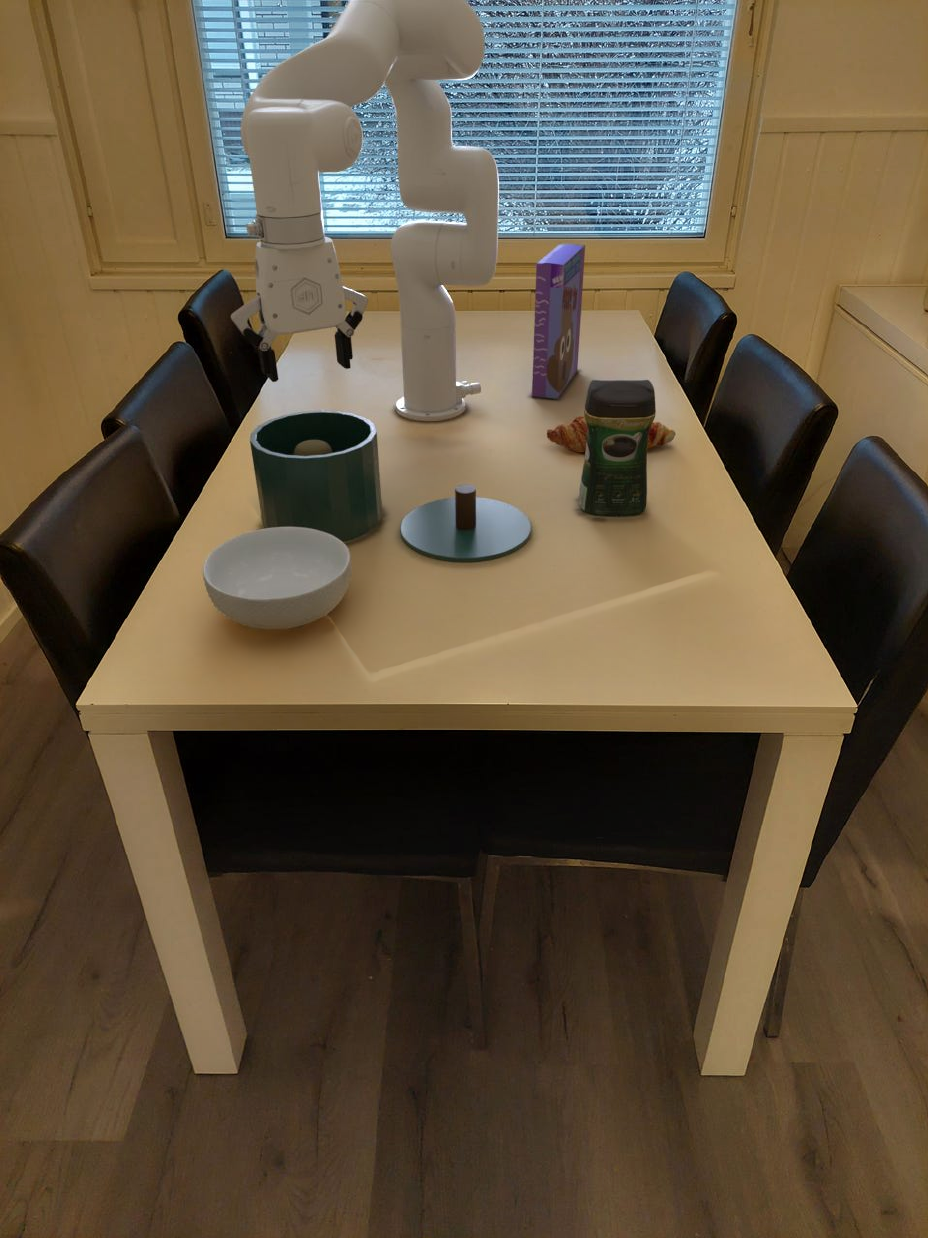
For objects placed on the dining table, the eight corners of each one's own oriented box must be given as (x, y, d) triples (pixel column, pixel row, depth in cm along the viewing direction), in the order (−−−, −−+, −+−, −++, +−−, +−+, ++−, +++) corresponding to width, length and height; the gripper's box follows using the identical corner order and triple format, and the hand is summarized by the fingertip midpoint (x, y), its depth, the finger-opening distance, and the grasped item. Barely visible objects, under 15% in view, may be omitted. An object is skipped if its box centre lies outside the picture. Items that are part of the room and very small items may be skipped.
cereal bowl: (289, 669, 95) (281, 614, 91) (181, 624, 103) (170, 572, 99) (382, 597, 107) (379, 546, 103) (280, 561, 115) (273, 513, 111)
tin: (356, 485, 134) (349, 402, 126) (400, 531, 121) (395, 442, 114) (249, 509, 127) (235, 423, 120) (284, 559, 115) (271, 467, 108)
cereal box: (556, 399, 164) (563, 263, 150) (531, 397, 165) (536, 261, 152) (577, 370, 177) (585, 243, 164) (554, 368, 179) (560, 242, 165)
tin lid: (491, 494, 131) (492, 452, 127) (555, 546, 117) (558, 500, 114) (380, 520, 124) (377, 477, 120) (435, 578, 111) (434, 531, 107)
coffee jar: (641, 495, 130) (655, 371, 120) (648, 520, 123) (663, 391, 113) (575, 495, 130) (583, 371, 120) (579, 520, 124) (588, 391, 113)
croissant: (666, 457, 150) (666, 409, 149) (684, 452, 140) (685, 400, 139) (542, 459, 148) (542, 410, 148) (552, 453, 138) (552, 402, 138)
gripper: (227, 243, 97) (251, 393, 107) (372, 226, 104) (382, 369, 113) (210, 231, 103) (234, 374, 113) (349, 215, 109) (360, 352, 119)
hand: (308, 371), depth 113 cm, fingers open, 9 cm apart
